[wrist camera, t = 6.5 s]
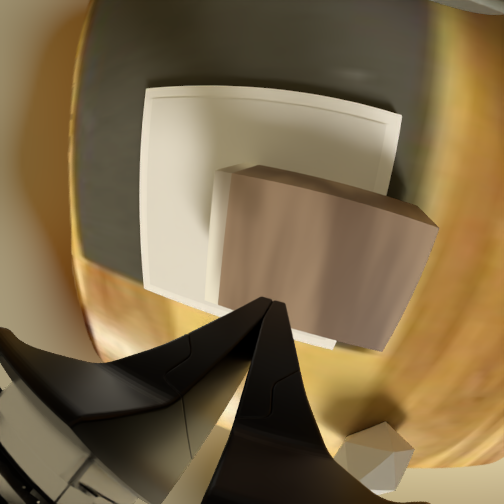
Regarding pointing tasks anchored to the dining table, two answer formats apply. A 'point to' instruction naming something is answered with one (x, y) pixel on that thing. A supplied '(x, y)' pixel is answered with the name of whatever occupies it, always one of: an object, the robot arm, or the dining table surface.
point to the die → (376, 457)
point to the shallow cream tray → (236, 152)
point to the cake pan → (476, 6)
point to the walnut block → (315, 251)
